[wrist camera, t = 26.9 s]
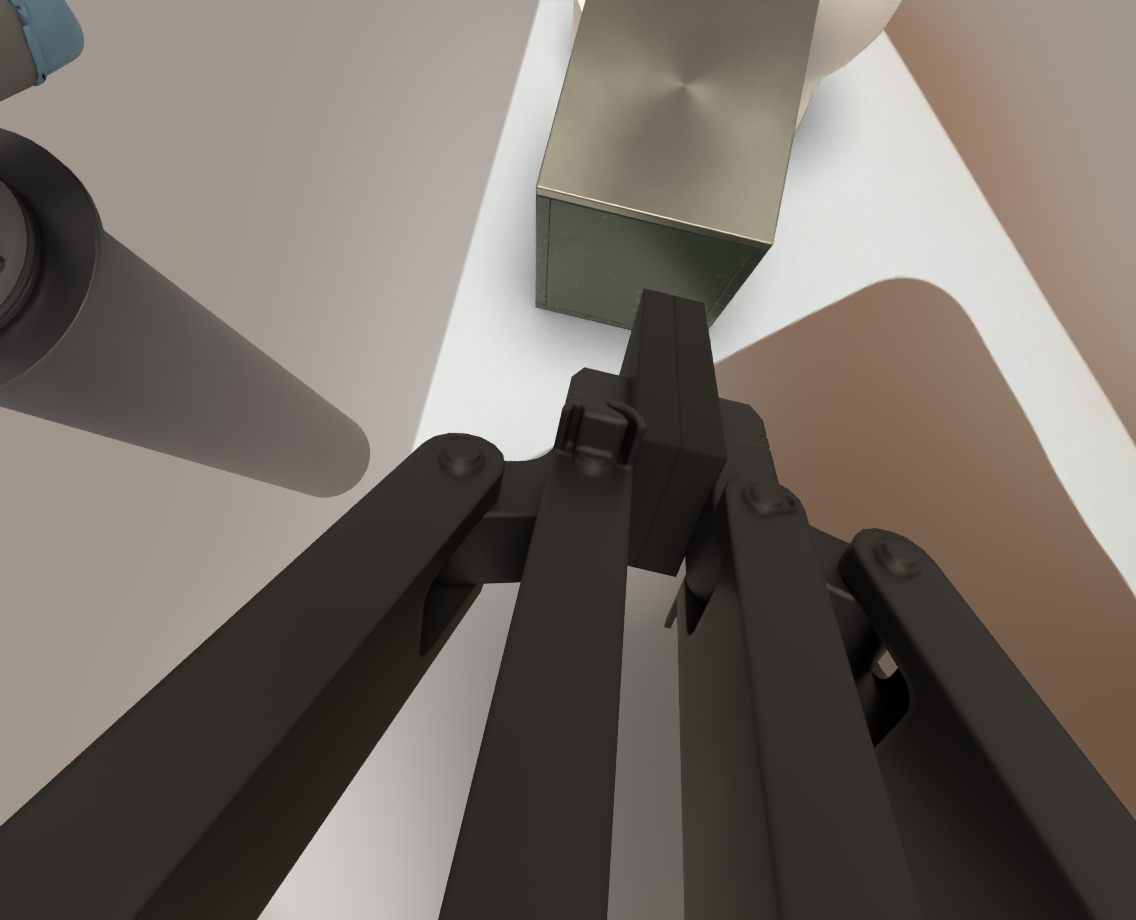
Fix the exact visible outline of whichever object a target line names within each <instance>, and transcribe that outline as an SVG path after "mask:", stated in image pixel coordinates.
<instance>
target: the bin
mask: <svg viewBox="0 0 1136 920" xmlns="http://www.w3.org/2000/svg"><path fill="white" fill-rule="evenodd" d="M767 252H768V251H767V250H763V249H759V248H754V247H750V246H746V245H742V244H738V243H734V242H730V241H726V240H722V239H718V238H714V237H710V236H705V235H701V234H697V233H693V232H689V231H685V230H681V229H677V228H673V227H669V226H665V225H661V224H656V223H652V222H648V221H644V220H640V219H636V218H632V217H628V216H624V215H620V214H616V213H611V212H607V211H603V210H599V209H595V208H591V207H587V206H583V205H579V204H575V203H571V202H567V201H562V200H558V199H554V198H550V197H546V196H542V195H538V194H536V307H539V308H543V309H547V310H551V311H555V312H559V313H563V314H567V315H572V316H576V317H580V318H584V319H588V320H592V321H596V322H600V323H605V324H609V325H613V326H617V327H621V328H625V329H629V330H632V328H633V324H634V321H635V317H636V314H637V310H638V307H639V303H640V299H641V296H642V292H643V289H644V288H645V289H649V290H653V291H658V292H662V293H666V294H670V295H674V296H678V297H683V298H687V299H691V300H695V301H699V302H703V303H704V305H705V312H706V318H707V325H708V330H709V328H710V327H711V326H712V324H713V323H714V322H715V320H716V319H717V318H718V316H719V315H720V314H721V313H722V311H723V310H724V309H725V307H726V306H727V305H728V303H729V302H730V301H731V299H732V298H733V297H734V295H735V294H736V293H737V291H738V290H739V289H740V287H741V286H742V285H743V283H744V282H745V281H746V279H747V278H748V277H749V275H750V274H751V273H752V272H753V270H754V269H755V268H756V266H757V265H758V264H759V262H760V261H761V260H762V258H763V257H764V256H765V254H766V253H767Z"/></svg>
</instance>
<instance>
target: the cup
mask: <svg viewBox="0 0 1136 920" xmlns="http://www.w3.org/2000/svg"><path fill="white" fill-rule="evenodd" d="M901 1H902V0H819V6H818V11H817V16H816V21H815V27H814V32H813V37H812V42H811V48H810V53H809V58H808V63H807V69H806V74H805V79H804V84H803V90H802V95H801V100H800V105H799V111H798V116H797V121H796V126H795V131H796V129H797V127H798V126H799V124H800V122H801V120H802V118H803V116H804V113H805V111H806V109H807V106H808V103H809V100H810V97H811V95H812V92H813V90H814V88H815V87H816V86H817V85H818V84H819V82H820V81H821V80H822V79H823V78H824V77H825V76H827V75H829V74H831V73H833V72H835V71H836V70H838V69H840V68H842V67H844V66H845V65H846V64H848V63H849V62H850V61H851V60H852V59H853V58H855V57H856V56H857V55H858V54H859V53H860V52H862V51H863V50H864V49H865V48H866V47H867V46H868V45H869V44H871V43H872V42H873V41H874V40H875V39H876V38H877V37H878V36H879V35H880V34H881V32H882V31H883V29H884V28H885V26H886V25H887V23H888V22H889V20H890V19H891V17H892V16H893V14H894V13H895V11H896V9H897V8H898V6H899V4H900V2H901Z"/></svg>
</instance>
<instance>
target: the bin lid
mask: <svg viewBox="0 0 1136 920" xmlns="http://www.w3.org/2000/svg"><path fill="white" fill-rule="evenodd" d="M818 6H819V0H585V3H584V7H583V11H582V15H581V19H580V22H579V26H578V30H577V34H576V37H575V41H574V45H573V49H572V53H571V56H570V60H569V64H568V68H567V71H566V75H565V79H564V83H563V87H562V90H561V94H560V98H559V102H558V105H557V109H556V113H555V117H554V121H553V124H552V128H551V132H550V136H549V139H548V143H547V147H546V151H545V155H544V158H543V162H542V166H541V170H540V173H539V177H538V181H537V185H536V194H538V195H542V196H546V197H550V198H554V199H558V200H562V201H567V202H571V203H575V204H579V205H583V206H587V207H591V208H595V209H599V210H603V211H607V212H611V213H616V214H620V215H624V216H628V217H632V218H636V219H640V220H644V221H648V222H652V223H656V224H661V225H665V226H669V227H673V228H677V229H681V230H685V231H689V232H693V233H697V234H701V235H705V236H710V237H714V238H718V239H722V240H726V241H730V242H734V243H738V244H742V245H746V246H750V247H754V248H759V249H763V250H767V251H768V250H769V249H770V248H771V246H772V245H773V242H774V237H775V231H776V226H777V221H778V216H779V210H780V205H781V200H782V195H783V189H784V184H785V179H786V174H787V168H788V163H789V158H790V153H791V147H792V142H793V137H794V132H795V126H796V121H797V116H798V111H799V105H800V100H801V95H802V90H803V84H804V79H805V74H806V69H807V63H808V58H809V53H810V48H811V42H812V37H813V32H814V27H815V21H816V16H817V11H818Z"/></svg>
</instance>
